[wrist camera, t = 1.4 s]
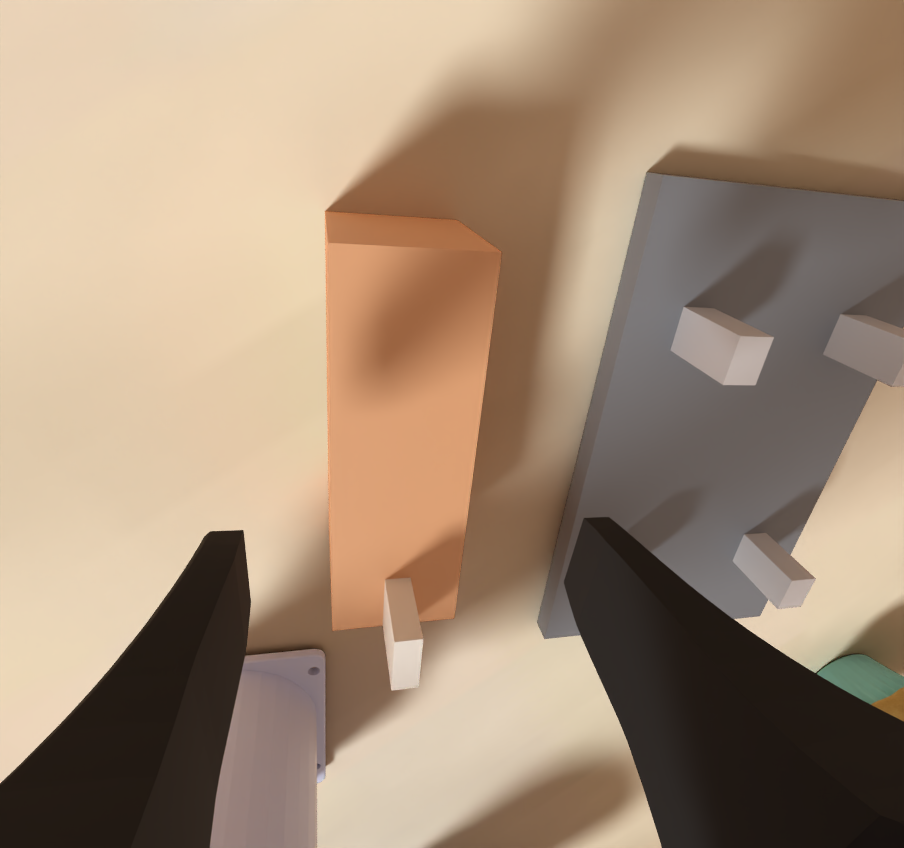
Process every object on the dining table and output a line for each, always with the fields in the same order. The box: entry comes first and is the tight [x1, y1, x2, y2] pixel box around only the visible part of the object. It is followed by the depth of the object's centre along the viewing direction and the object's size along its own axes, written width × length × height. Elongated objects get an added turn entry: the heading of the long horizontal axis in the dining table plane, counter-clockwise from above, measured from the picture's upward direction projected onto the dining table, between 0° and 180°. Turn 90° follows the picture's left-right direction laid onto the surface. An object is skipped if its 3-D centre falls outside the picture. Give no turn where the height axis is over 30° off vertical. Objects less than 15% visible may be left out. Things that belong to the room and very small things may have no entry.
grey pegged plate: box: [537, 172, 904, 639], centre depth 22 cm, size 20×12×4 cm, turn 174°
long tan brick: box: [325, 211, 502, 691], centre depth 17 cm, size 12×4×7 cm, turn 175°
